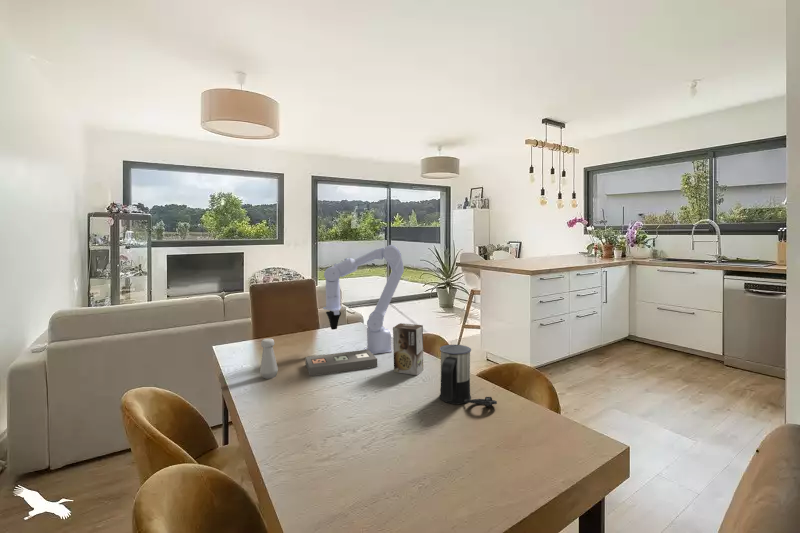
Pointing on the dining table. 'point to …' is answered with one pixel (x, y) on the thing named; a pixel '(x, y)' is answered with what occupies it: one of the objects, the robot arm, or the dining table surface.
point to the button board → (340, 363)
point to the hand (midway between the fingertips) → (333, 329)
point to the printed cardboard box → (408, 348)
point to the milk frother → (457, 376)
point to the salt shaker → (268, 359)
